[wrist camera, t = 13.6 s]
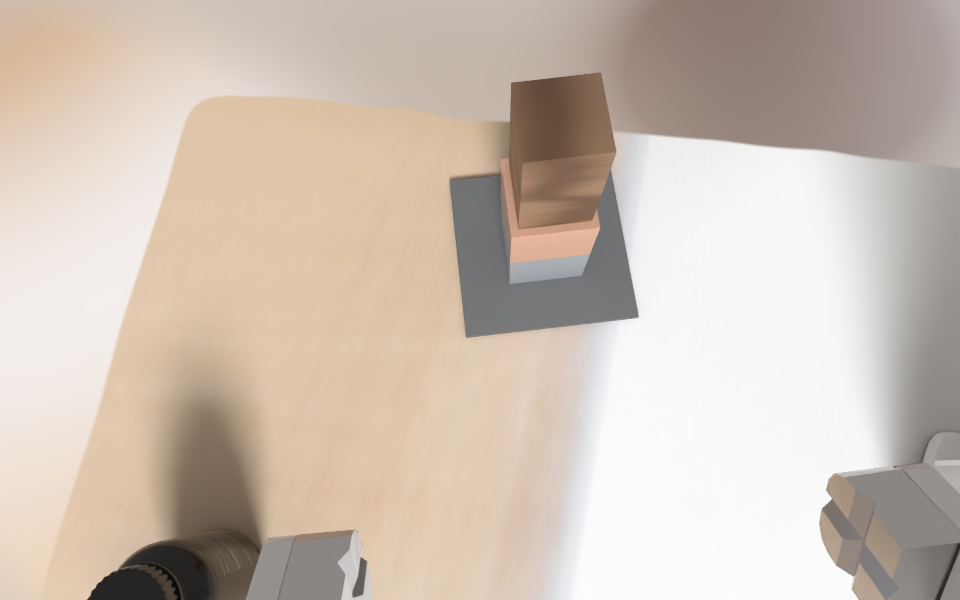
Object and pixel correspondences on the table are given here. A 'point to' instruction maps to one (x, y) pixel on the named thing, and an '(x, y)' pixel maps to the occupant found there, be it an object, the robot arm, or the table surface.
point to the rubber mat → (535, 302)
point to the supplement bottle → (185, 570)
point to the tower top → (543, 231)
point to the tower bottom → (542, 265)
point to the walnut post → (559, 149)
